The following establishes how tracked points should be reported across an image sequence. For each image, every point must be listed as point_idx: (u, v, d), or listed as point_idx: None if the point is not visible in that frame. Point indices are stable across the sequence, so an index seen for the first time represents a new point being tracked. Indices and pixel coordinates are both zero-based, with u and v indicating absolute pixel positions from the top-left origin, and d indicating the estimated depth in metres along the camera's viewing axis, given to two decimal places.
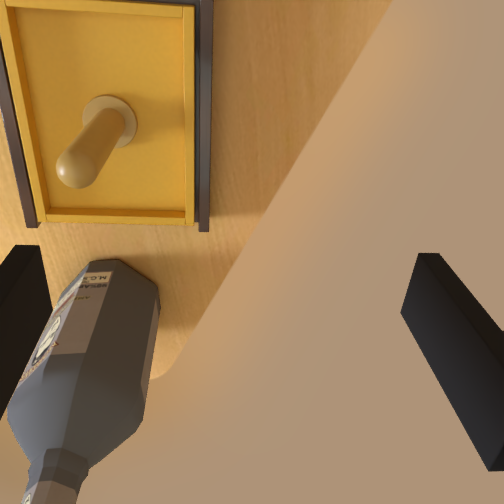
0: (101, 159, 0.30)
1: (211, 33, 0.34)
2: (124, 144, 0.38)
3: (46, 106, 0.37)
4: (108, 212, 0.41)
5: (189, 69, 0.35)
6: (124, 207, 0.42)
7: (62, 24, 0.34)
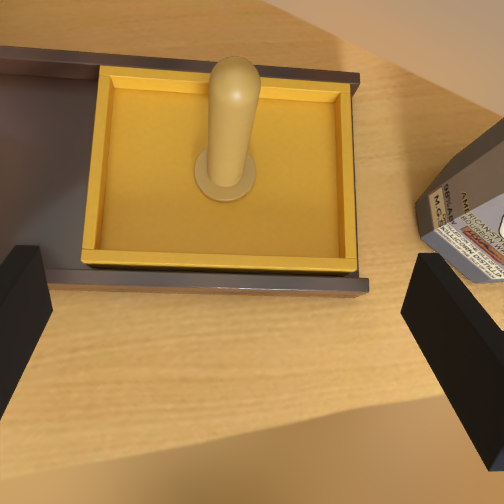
0: None
1: (127, 56, 0.32)
2: (250, 157, 0.32)
3: (208, 241, 0.31)
4: (340, 186, 0.32)
5: (161, 73, 0.32)
6: (334, 173, 0.33)
7: (119, 208, 0.31)
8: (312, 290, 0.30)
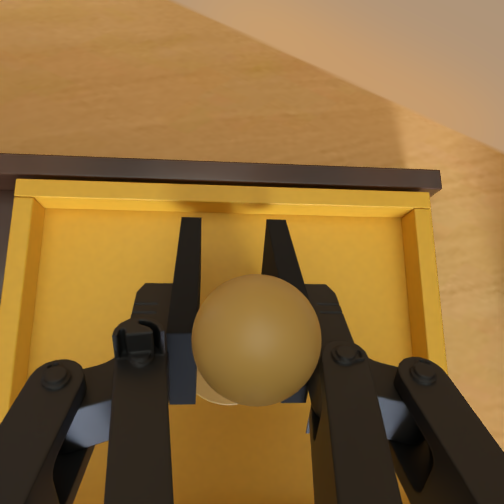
0: None
1: (65, 157, 0.20)
2: None
3: (203, 479, 0.18)
4: None
5: (120, 189, 0.19)
6: (406, 339, 0.20)
7: None
8: None
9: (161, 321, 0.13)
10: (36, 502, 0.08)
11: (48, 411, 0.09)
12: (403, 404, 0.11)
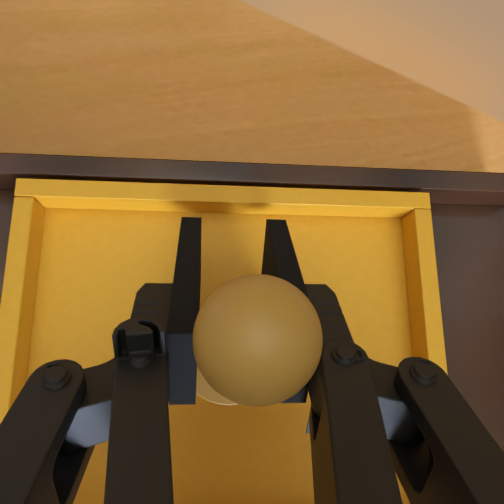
0: None
1: (173, 161, 0.20)
2: None
3: (203, 479, 0.18)
4: None
5: (120, 189, 0.19)
6: (406, 339, 0.20)
7: None
8: None
9: (161, 321, 0.13)
10: (36, 502, 0.08)
11: (48, 411, 0.09)
12: (402, 403, 0.11)
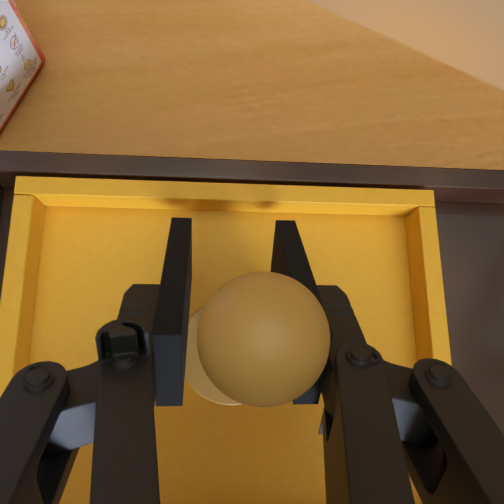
0: None
1: (268, 162, 0.20)
2: None
3: (206, 480, 0.18)
4: None
5: (121, 186, 0.19)
6: (411, 338, 0.20)
7: None
8: None
9: (148, 322, 0.13)
10: None
11: (31, 413, 0.09)
12: (418, 405, 0.11)
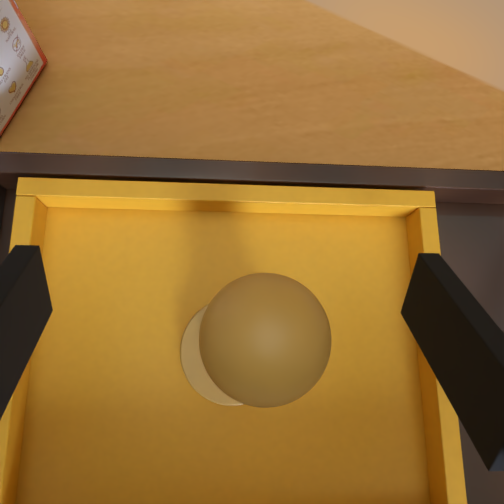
0: None
1: (269, 163, 0.20)
2: None
3: (207, 481, 0.18)
4: (426, 370, 0.19)
5: (123, 188, 0.19)
6: (412, 339, 0.20)
7: (52, 426, 0.18)
8: None
9: None
10: None
11: None
12: None
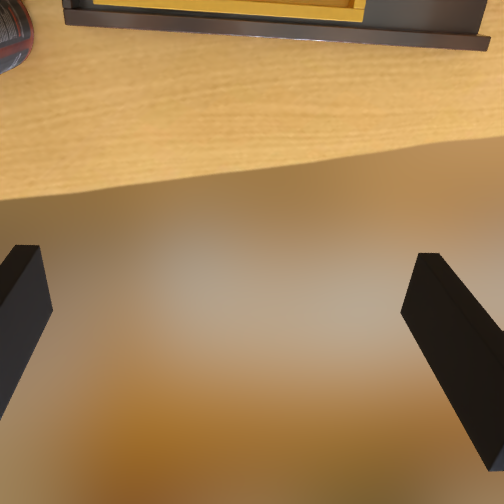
0: None
1: None
2: None
3: None
4: None
5: None
6: None
7: None
8: (435, 47, 0.33)
9: None
10: None
11: None
12: None
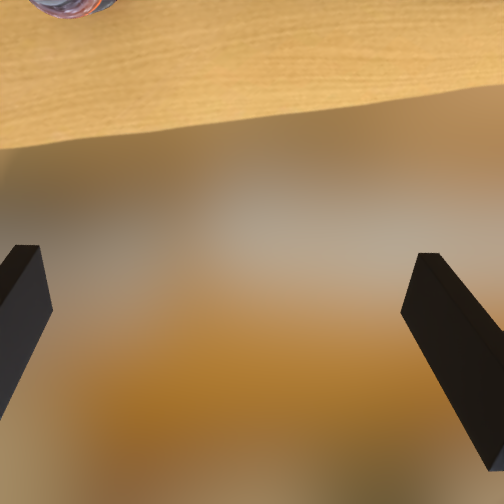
0: None
1: None
2: None
3: None
4: None
5: None
6: None
7: None
8: None
9: None
10: None
11: None
12: None
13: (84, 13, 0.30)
